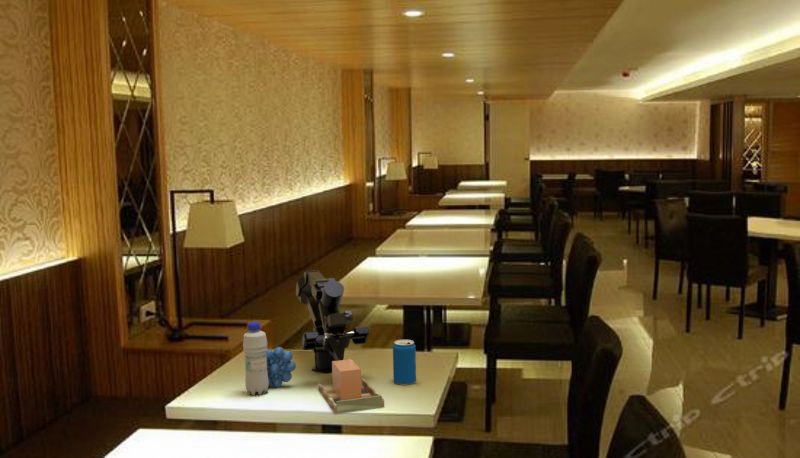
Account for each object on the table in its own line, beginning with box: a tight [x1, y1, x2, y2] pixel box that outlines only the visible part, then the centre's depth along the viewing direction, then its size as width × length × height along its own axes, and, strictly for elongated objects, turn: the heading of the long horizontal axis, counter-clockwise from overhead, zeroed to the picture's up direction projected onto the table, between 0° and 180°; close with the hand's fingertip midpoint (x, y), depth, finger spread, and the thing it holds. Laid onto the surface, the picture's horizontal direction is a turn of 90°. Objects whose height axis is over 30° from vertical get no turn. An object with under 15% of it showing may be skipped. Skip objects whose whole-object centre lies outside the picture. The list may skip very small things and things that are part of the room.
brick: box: [331, 358, 362, 401], centre depth 205 cm, size 10×6×8 cm, turn 18°
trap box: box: [317, 377, 385, 415], centre depth 202 cm, size 20×13×4 cm, turn 18°
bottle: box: [242, 321, 269, 396], centre depth 209 cm, size 7×7×20 cm
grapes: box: [266, 346, 297, 389], centre depth 213 cm, size 12×7×12 cm, turn 88°
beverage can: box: [392, 339, 417, 386], centre depth 214 cm, size 6×6×12 cm
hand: (341, 363), depth 210 cm, fingers closed, pressing on brick
